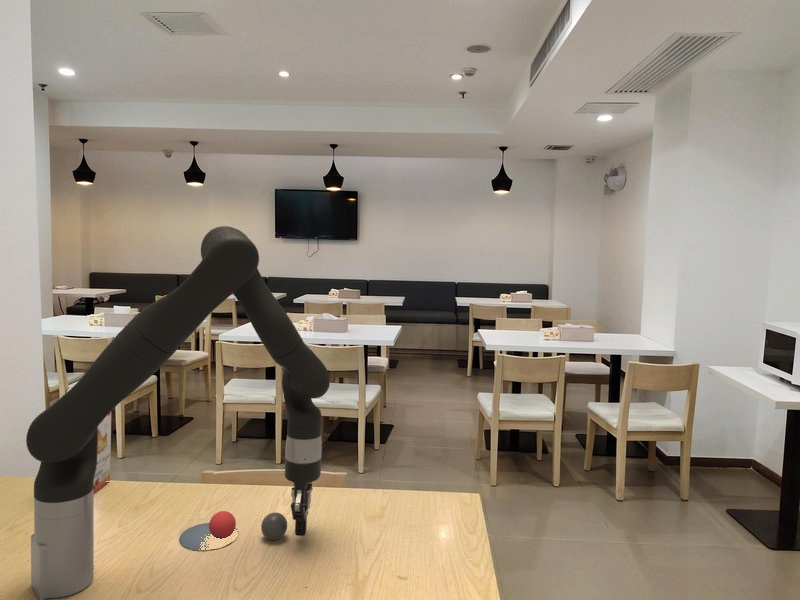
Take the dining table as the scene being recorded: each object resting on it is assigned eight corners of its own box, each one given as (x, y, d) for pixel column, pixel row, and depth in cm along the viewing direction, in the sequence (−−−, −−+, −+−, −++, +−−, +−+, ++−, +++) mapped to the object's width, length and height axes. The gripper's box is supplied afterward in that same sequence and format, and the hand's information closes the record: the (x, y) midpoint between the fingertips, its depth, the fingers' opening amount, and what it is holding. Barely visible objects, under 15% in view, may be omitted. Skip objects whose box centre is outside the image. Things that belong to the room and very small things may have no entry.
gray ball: (273, 521, 121) (264, 546, 121) (295, 520, 124) (287, 544, 125) (261, 507, 125) (253, 531, 125) (283, 507, 129) (275, 530, 129)
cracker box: (81, 506, 136) (81, 418, 134) (55, 504, 136) (55, 416, 134) (112, 481, 150) (112, 402, 148) (89, 480, 150) (89, 400, 148)
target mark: (195, 557, 116) (195, 556, 116) (169, 534, 124) (169, 533, 124) (248, 538, 125) (248, 537, 125) (221, 518, 133) (221, 517, 133)
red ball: (228, 527, 120) (204, 539, 121) (242, 535, 124) (219, 545, 125) (225, 503, 124) (202, 514, 124) (238, 511, 128) (216, 521, 128)
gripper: (316, 468, 116) (313, 551, 118) (325, 445, 130) (322, 520, 131) (279, 466, 116) (276, 549, 118) (291, 443, 129) (288, 518, 131)
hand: (300, 533), depth 125 cm, fingers closed
